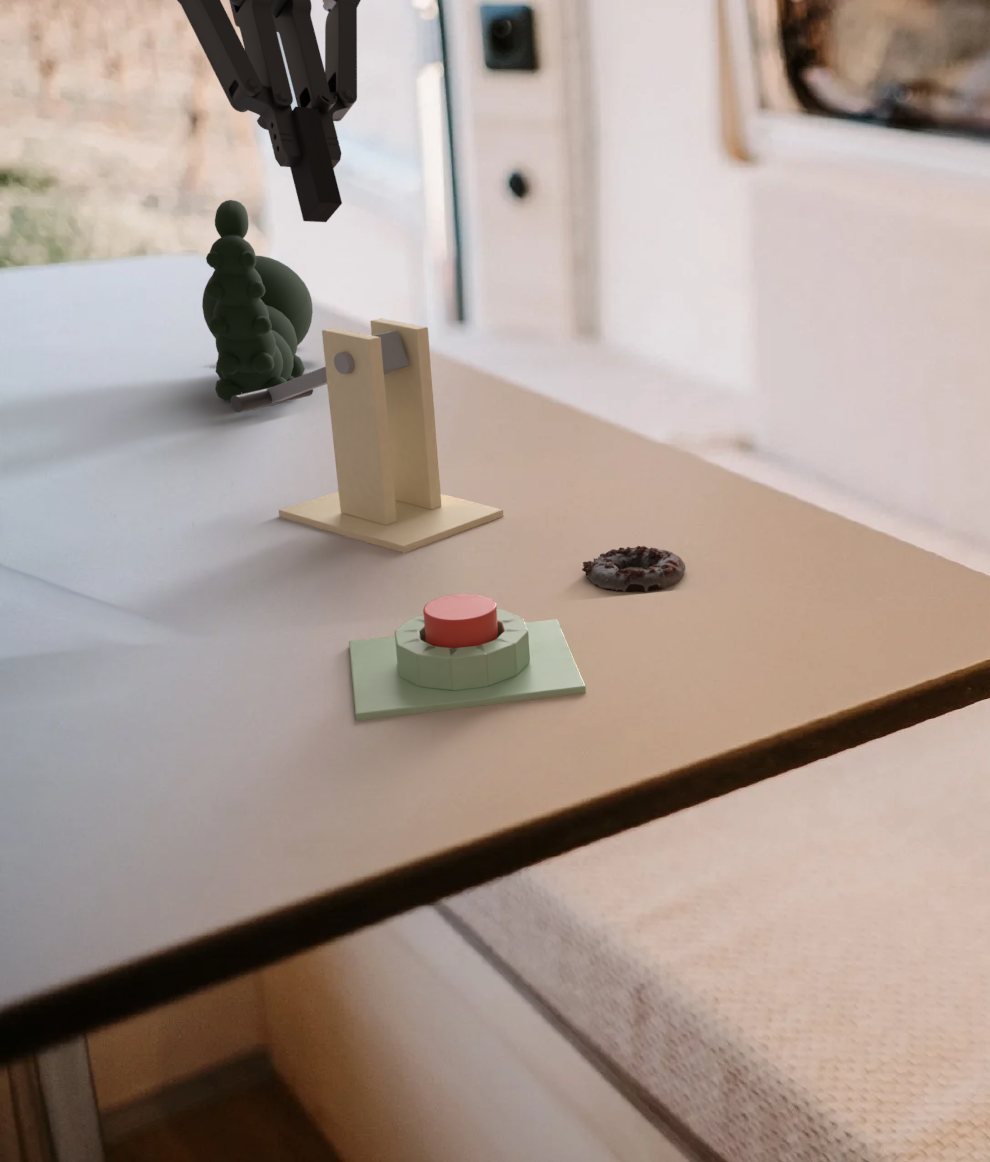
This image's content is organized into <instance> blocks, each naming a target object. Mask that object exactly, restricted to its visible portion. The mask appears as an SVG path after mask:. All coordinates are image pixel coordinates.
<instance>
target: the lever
mask: <svg viewBox="0 0 990 1162" xmlns="http://www.w3.org/2000/svg"><path fill="white" fill-rule="evenodd" d="M371 335H372V334H371ZM372 336H377V337H380V338H381V349H382V360H383V371H384V375H385V374H388V373H390V372H393V371H396V370H399V369H401V368H404V367H407V366H409V362H408V359H407V356H406V353H405V350H404V348H403V345H402V342H401V339H400V336H399V333H398V331H397V330H396V331H391V332H386V333H381V334H377V335H372ZM325 385H327V376H326V366H323V367H321V368H318V369H316V370H313V371H310V372H307V373H305V374H303V375H302V376H300V377H297V378H295V379H292V380H289V381H287V382H284V383H282V384H279V385H277V386H274V387H270V388H265V389H261V390H257V391H252V392H248V393H241V394H239V395H235V396H232V398H231V401H230V406H231V408H232V410H233V411H234V412H235V413H238V414H239V413H244V412H249V411H252V410H256V409H261V408H265V407H270V406H273V405H277V404H281V403H286V402H290V401H294V400H298V399H302V398H306V397H311V396H312V395H313V392H314V390H315V389H318V388H320V387H322V386H325Z"/></svg>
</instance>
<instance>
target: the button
mask: <svg viewBox="0 0 990 1162" xmlns="http://www.w3.org/2000/svg"><path fill="white" fill-rule="evenodd" d="M497 609H498V608H497V603H496V602H495V600H494V599H492V598H491V597H489V596H486V595H482V594H477V593H476V594H475V593H456V594H455V593H453V594H448V595H444V596H440V597H437V598H434V599H432V600H430V601H429V602H427V603H426V604H425V605H424V606H423V611H422V613H423V614H422V615H424V626H425V638H426V642H427V643H428V644H430V645H433V646H436V647H445V648H461V647H470V646H479V645H482V644H485V643H487V642H490V641H493V640H496V639H497V637H498V623H497Z"/></svg>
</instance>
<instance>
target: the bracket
mask: <svg viewBox="0 0 990 1162" xmlns="http://www.w3.org/2000/svg"><path fill="white" fill-rule="evenodd" d="M369 323H370V330H371V331H370V333H371V334H367V333H360V332H356V331H351V330H346V329H340V328H337V327H331V328H326V329H322V330H321V336H322V346H323V355H324V365H325V366H324V367H326V376H327V384H326V386H327V393H328V403H329V413H330V422H331V432H332V443H333V451H334V461H335V471H336V480H337V491H335V492H332V493H329V494H325V495H322V496H319V497H316V498H313V499H310V500H306V501H303V502H300V503H297V504H293V505H290V506H286V507H283V508H280V509H278V516H279V518H283V519H285V520H289V521H293V522H296V523H300V524H303V525H307V526H310V527H313V528H317V529H320V530H324V531H326V532H327V531H328V532H330V533H333V534H334V533H335V534H338V535H341V536H344V537H348V538H350V539H354V540H358V541H362V542H364V543H368V544H371V545H375V546H379V547H381V548H385V549H388V550H393V551H396V552H399V553H402V554H403V553H404V554H405V553H408V552H410V551H413V550H416V549H418V548H422V547H424V546H427V545H430V544H432V543H435V542H437V541H440V540H443V539H446V538H449V537H451V536H454V535H456V534H460V533H462V532H464V531H467V530H470V529H472V528H475V527H478V526H481V525H484V524H486V523H489V522H492V521H494V520H497V519H499V518H503V517H504V510H503V509H501V508H498V507H494V506H491V505H486V504H482V503H479V502H475V501H471V500H467V499H463V498H459V497H456V496H451V495H447V494H444V493H442V492H441V480H440V478H441V477H440V465H439V453H438V441H437V440H438V439H437V428H436V427H437V426H436V412H435V402H434V388H433V375H432V363H431V349H430V336H429V335H430V334H429V327H428V326H424V325H419V324H415V323H414V324H413V323H409V322H403V321H397V320H392V319H387V318H377V319H372V320H371V319H370V322H369ZM396 330H397V331H398V333H399V336H400V339H401V342H402V345H403V348H404V350H405V353H406V356H407V359H408V362H409V366H407V367H404V368H401V369H399V370H396V371H393V372H390V373H388V374H385V375H384V371H383V360H382V349H381V338H380V337H377V336H372V335H377V334H381V333H386V332H391V331H396Z"/></svg>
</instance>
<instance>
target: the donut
mask: <svg viewBox="0 0 990 1162" xmlns="http://www.w3.org/2000/svg"><path fill="white" fill-rule="evenodd" d="M628 568H629V569H628ZM635 568H641V569H635ZM581 571H582V572H584V573H585V576H586V578H587V579H588V580H589V581H590V582H592V584H593V585H594V586H595V587H598V588H600V589H603V590H606V591H607V590H613V591H616V592H620V593H649V592H655V591H661V590H666V589H668V588H670V587H672V586H675V585H677V584H678V583H679V582H680V581H682V579H683V578H684V576H685V571H686V563H685V562H684V560H683V559H682V558H681V557H680V556H679V555H678V554H676V553H674V552H673V551H670V550H667V549H659V548H656V547H652V546H651V547H650V548H649V547H647V546H645V545H642V546H640V545H637V546H635V547H630V546H627V547H626V548H625V547H619V548H618V549H611V550H608V551H607V552H606V553H604V552H603V553H600V554H599V556H598V557H597V558H594V557H593V561H592V560H589V561H583V562H582V569H581Z"/></svg>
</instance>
